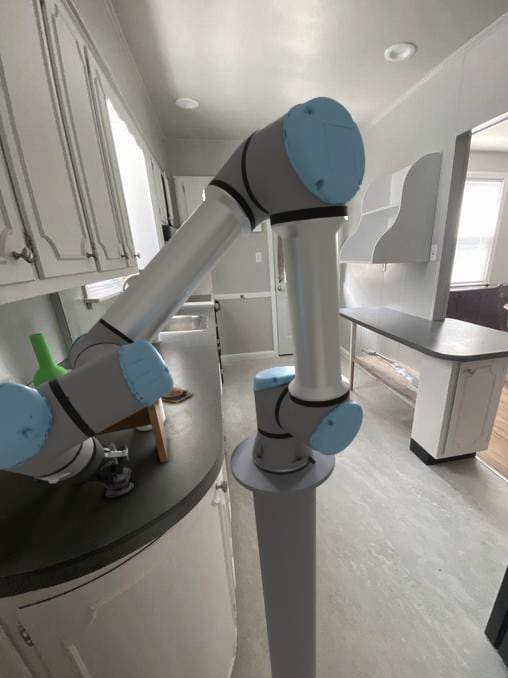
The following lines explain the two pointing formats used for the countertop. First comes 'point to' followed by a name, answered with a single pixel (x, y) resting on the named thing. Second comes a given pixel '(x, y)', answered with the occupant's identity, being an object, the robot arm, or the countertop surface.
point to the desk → (143, 418)
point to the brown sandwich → (176, 395)
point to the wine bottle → (44, 361)
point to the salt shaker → (118, 477)
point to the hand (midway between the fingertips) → (111, 477)
